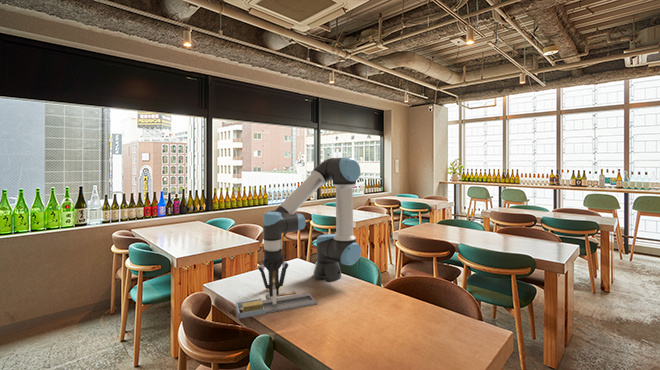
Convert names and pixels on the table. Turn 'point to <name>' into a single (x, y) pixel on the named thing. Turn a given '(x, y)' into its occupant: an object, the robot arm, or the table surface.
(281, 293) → the hammer
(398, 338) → the table surface
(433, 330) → the table surface
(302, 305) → the slot board
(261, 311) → the tray
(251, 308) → the chip
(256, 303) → the yellow square block
